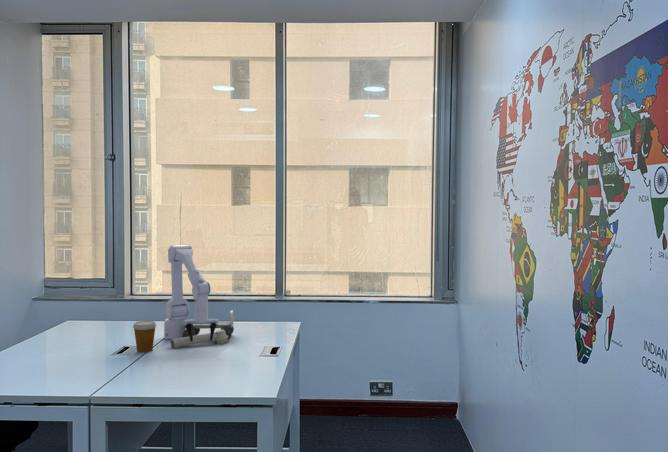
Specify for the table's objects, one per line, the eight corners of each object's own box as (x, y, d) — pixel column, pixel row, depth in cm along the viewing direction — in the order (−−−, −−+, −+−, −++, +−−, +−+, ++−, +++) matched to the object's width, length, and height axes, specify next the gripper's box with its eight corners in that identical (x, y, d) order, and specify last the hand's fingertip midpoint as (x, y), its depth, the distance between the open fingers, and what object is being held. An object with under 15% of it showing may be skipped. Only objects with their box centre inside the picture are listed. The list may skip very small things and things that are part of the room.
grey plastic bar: (170, 338, 250) (224, 325, 261) (172, 353, 251) (226, 340, 262) (172, 340, 245) (228, 327, 257) (174, 355, 246) (230, 342, 257)
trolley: (182, 341, 259) (182, 314, 259) (187, 335, 272) (187, 309, 271) (231, 341, 261) (231, 313, 261) (233, 335, 274) (233, 309, 273)
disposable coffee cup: (149, 354, 237) (149, 325, 237) (128, 352, 239) (128, 324, 238) (160, 348, 246) (160, 321, 246) (140, 347, 248) (140, 320, 248)
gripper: (182, 311, 245) (183, 342, 245) (216, 310, 246) (217, 342, 246) (185, 308, 252) (186, 339, 252) (218, 308, 253) (219, 338, 253)
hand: (201, 340), depth 250 cm, fingers open, 7 cm apart
